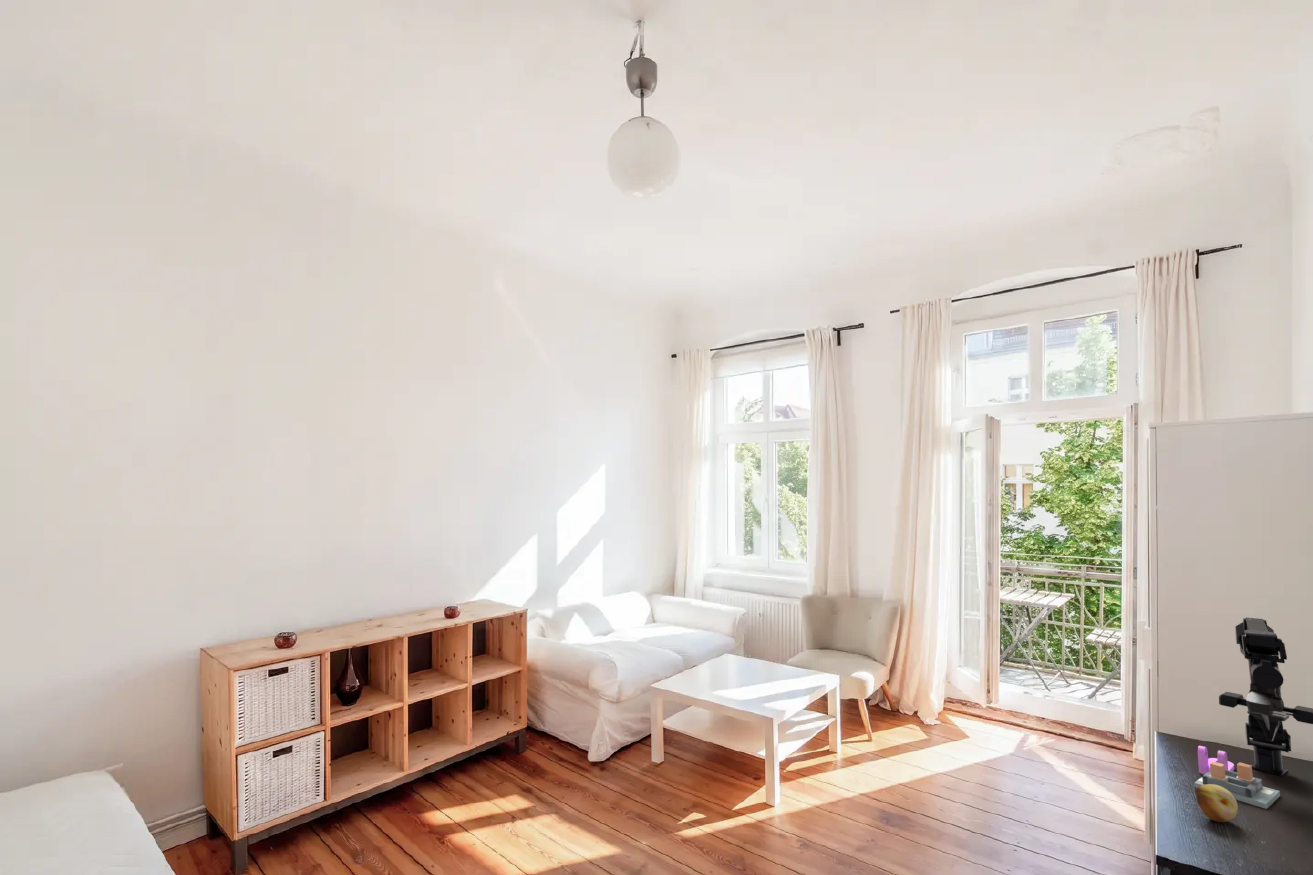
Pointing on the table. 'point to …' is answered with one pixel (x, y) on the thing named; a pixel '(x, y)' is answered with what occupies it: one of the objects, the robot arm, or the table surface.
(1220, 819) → the fruit
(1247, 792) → the switch plate
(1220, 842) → the table surface
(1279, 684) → the robot arm
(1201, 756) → the bracket
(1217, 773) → the tab
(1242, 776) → the tab
